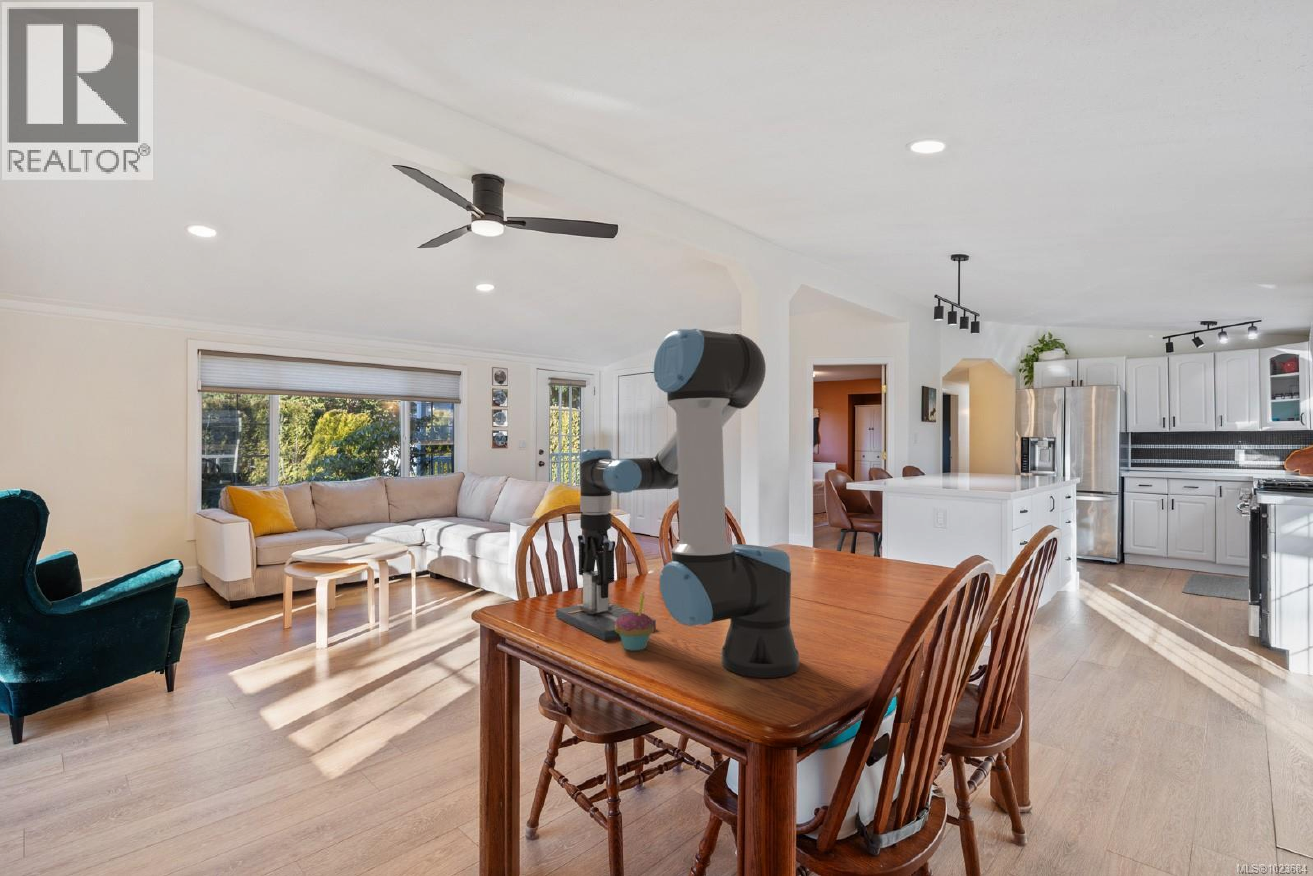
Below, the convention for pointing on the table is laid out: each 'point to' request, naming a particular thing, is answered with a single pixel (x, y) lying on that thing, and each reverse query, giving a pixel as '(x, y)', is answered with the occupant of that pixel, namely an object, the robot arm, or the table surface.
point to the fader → (591, 593)
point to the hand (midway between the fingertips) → (596, 608)
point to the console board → (594, 620)
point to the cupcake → (634, 628)
